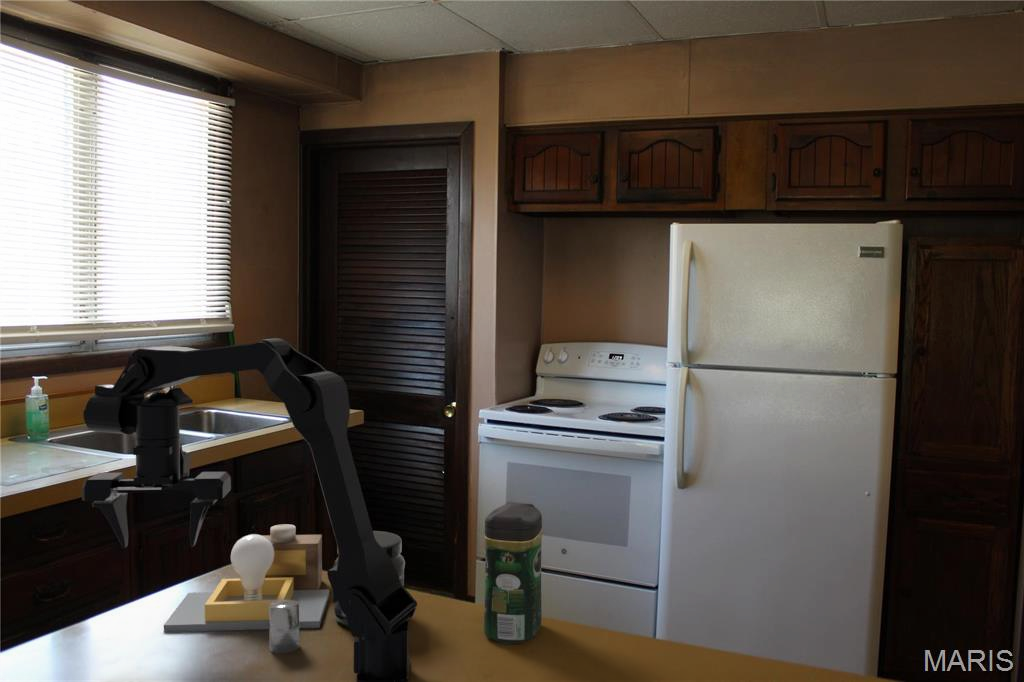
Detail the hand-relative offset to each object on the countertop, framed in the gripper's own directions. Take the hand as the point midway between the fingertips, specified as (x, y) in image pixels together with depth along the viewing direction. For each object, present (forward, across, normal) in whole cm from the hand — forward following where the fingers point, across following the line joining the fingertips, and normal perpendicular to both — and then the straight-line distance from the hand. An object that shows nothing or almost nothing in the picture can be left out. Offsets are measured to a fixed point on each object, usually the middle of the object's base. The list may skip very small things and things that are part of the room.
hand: (159, 546), depth 121 cm
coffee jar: (+13, -50, +2) cm, 52 cm away
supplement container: (+13, -29, -5) cm, 32 cm away
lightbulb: (+12, -11, -8) cm, 18 cm away
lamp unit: (+13, -14, -19) cm, 27 cm away
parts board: (+13, -11, -8) cm, 19 cm away
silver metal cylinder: (+13, -18, +5) cm, 23 cm away
